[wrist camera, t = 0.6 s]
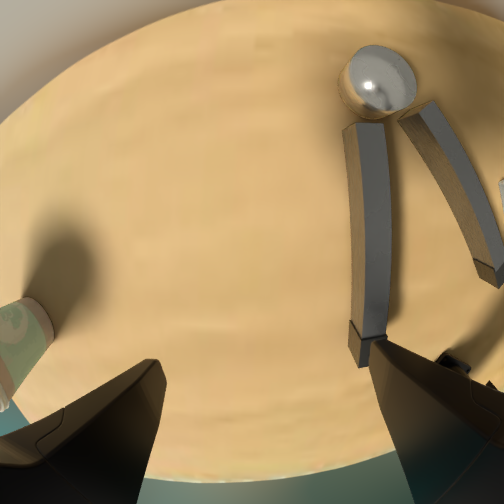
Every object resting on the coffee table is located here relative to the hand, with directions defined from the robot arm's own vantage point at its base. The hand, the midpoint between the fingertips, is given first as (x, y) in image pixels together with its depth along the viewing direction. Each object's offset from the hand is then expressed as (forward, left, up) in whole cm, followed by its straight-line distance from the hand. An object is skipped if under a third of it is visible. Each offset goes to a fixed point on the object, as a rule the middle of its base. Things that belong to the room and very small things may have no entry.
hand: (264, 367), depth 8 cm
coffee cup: (+17, +18, -12) cm, 28 cm away
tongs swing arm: (-5, -7, -11) cm, 14 cm away
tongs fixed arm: (-11, -12, -12) cm, 20 cm away
